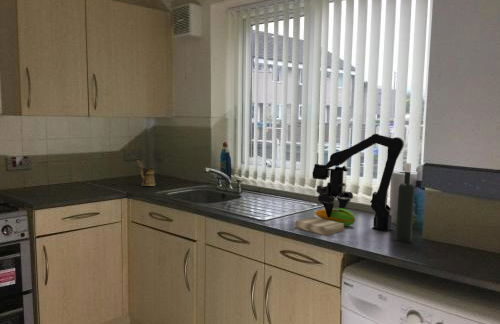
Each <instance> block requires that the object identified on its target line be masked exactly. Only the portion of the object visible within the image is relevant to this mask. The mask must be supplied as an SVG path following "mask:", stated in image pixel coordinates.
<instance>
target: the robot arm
mask: <svg viewBox="0 0 500 324" xmlns="http://www.w3.org/2000/svg"><path fill="white" fill-rule="evenodd" d="M376 144H377V145H381V146H383V147H387V155H386V156H387V159H386V161H385V166H384V169H383V172H382V175H381V176H382V177H381V178H380V183H379V187H378V190H377V192H376V191H374V192H373V193H372V195H371V200H370V201H369V203H370V207H371V209H372V210H373V211H374V212H375V214H374V217H373V227H372V228H371V229H372V230H377V231H382V232H389V231H392V230H394V228H393V227H392V220H393V216H392V215H391V213H392V210H393V209H392V208H391V207H390V206H389V205H388V195H389V194H388V193H389V187H390V185H391V180H392V178H393V173H394V171H395V166H396V164H397V160H398V158H399V156H400V154H401V153H402V150H403V149H404V147H405V141H404V140H403V138H401V137H398V136H397V137H395V136H394V137H390V136H386V135H382V134H379V133H373V134H372V135H371V136H368V137H367V138H365V139H363V140H360V142H357V143H355V144H354V145H352V146H350V147H348V148H346V149H342V150H339V151H336V152H334V153H332V154H331V155H330V157H329V160H328V162H326V164H319V163H315V164H314V165H313V168H312V169H313V170H312V178H313V180H321V181H327V179H328V178H329V182H327V183H326V186H323V185H322V184H321V185H317V186H316V193H317V194H318V195H317V201H318V202H320V204H322V205H323V207H324V210H326V214H327V217H330V216H331V213H332V209H333V210H334V208H333V207H334V205H335V202H334V201H335V200H337V201H338V208H343V209H346V208H347V206H348V205H349V203H350V202H351V201H352V200H353V199H354V193H352V191H347V190H343V189H344V188H343V187H344V186H346V183H345V182H344V172H348V171H349V168H347V167H346V165H343V164H344V163H345V162H347V161H348V160H349V159H351V158H352V157H353V156H355V155H357V154H359V153H361V152H362V151H364V150H366V149H368V148H370V147H372V146H374V145H376ZM341 165H343V166H341ZM333 167H334V168H333ZM340 211H343V210H340Z"/></svg>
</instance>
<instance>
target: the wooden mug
mask: <svg viewBox="0 0 500 324" xmlns="http://www.w3.org/2000/svg"><path fill="white" fill-rule="evenodd" d="M136 164H137V165H138V166H139V168H140V169H141V170H140V177H141V179H142V183H141V186H142V187H143V186H154V187H156V186H157V185H156V181H155V179H156V178H155V170H154V168H146V167H145V166H146V165H145V164H144V162H143V161H141V160H140V159H136ZM155 185H156V186H155Z"/></svg>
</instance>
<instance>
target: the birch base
mask: <svg viewBox="0 0 500 324" xmlns="http://www.w3.org/2000/svg"><path fill="white" fill-rule="evenodd" d="M294 227H295V228H296V229H300V230H304V231H307V232H310V233H314V234H320V235H323V236H329V235H333V234H338V233H340V232H344V230H345V227H344V224H343V223H339V222H334V221H330V220H325V219H322V218H320V217H316V216H311V217H307V218H301V219H296V220H295V226H294Z"/></svg>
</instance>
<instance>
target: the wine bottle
mask: <svg viewBox="0 0 500 324" xmlns="http://www.w3.org/2000/svg"><path fill="white" fill-rule="evenodd" d="M411 171H412V163H411V162H405V163H404V182H403V183H401V184H399V186H398V191H397V192H398V195H397V208H396V209H397V210H396V212H397V213H396V225H395V240H396V241H398V242H403V243H410V242H412V233H413V219H414V208H415V207H414V206H415V186H414V185H415V184H412V183H411Z"/></svg>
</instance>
